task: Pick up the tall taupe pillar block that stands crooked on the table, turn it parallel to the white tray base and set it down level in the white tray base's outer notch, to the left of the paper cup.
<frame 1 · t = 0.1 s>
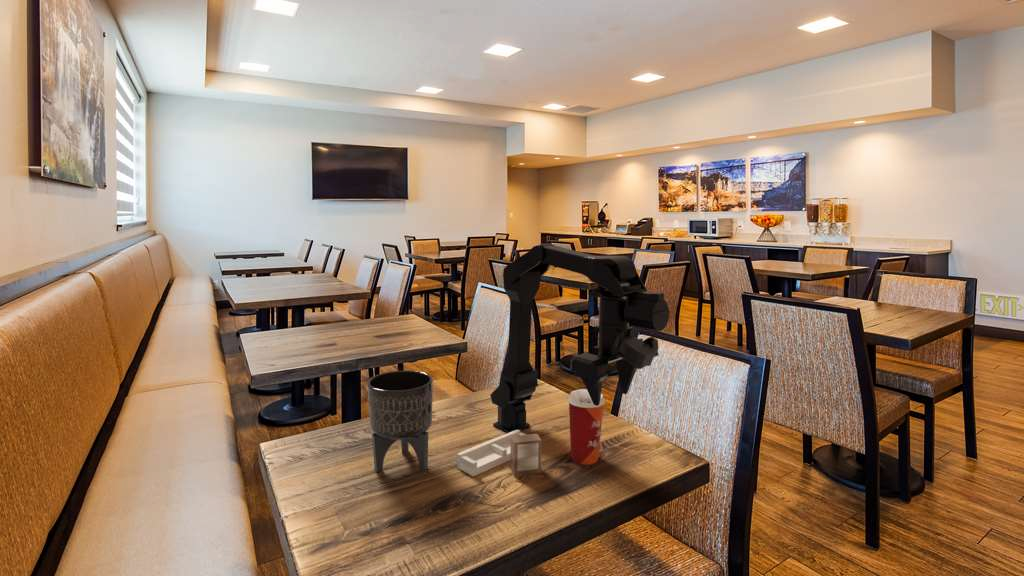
hand: (610, 399, 106), 15 cm above the table, fingers open, 9 cm apart
tall taupe pillar block: (525, 471, 107), on the table
white tray base: (496, 458, 113), on the table
paper cup: (584, 459, 113), on the table
planter: (402, 464, 110), on the table
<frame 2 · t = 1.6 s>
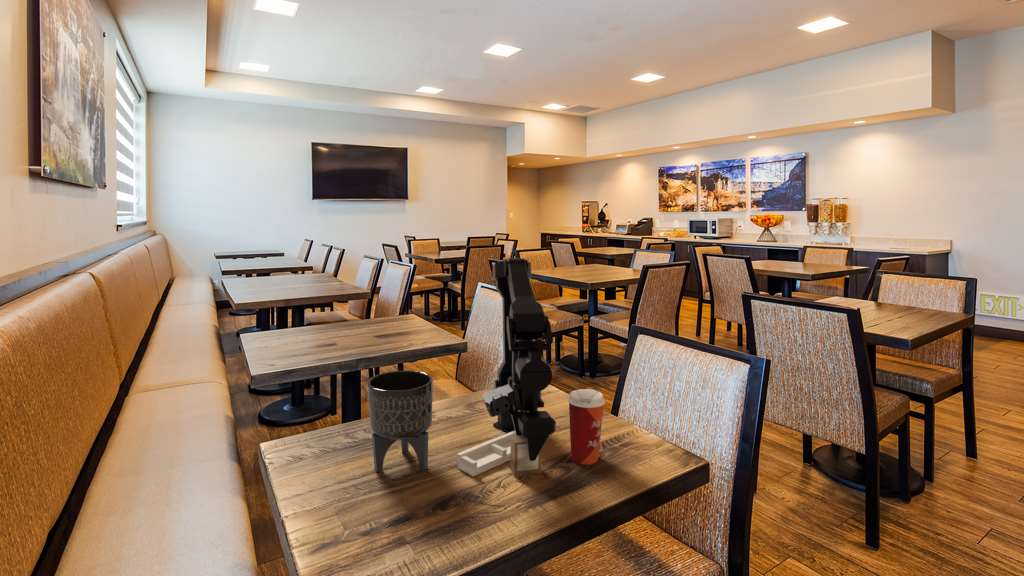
hand: (525, 449, 107), 4 cm above the table, fingers open, 9 cm apart
nothing on the table moved.
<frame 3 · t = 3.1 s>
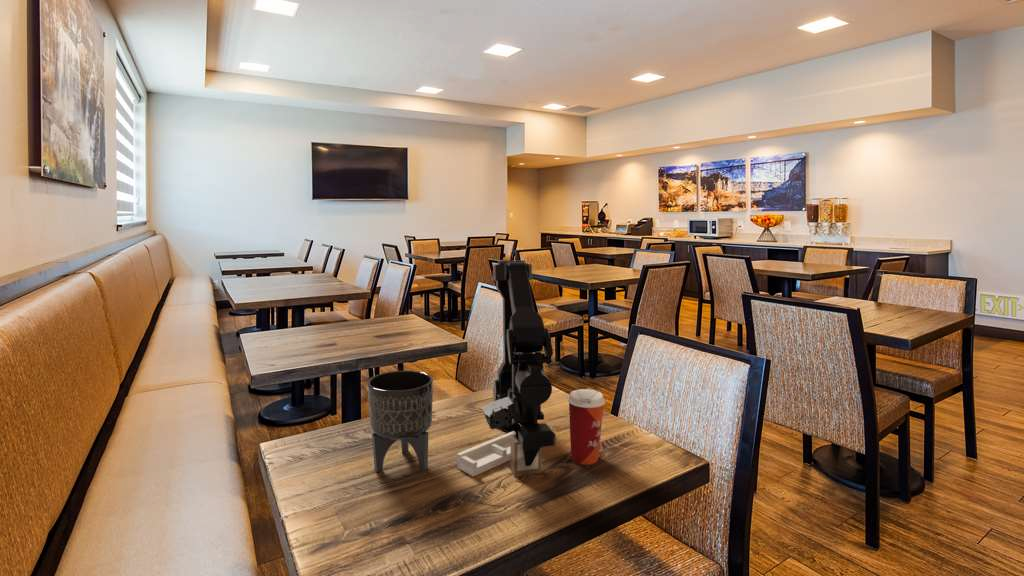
hand: (525, 461, 107), 2 cm above the table, fingers closed on tall taupe pillar block, 3 cm apart
tall taupe pillar block: (525, 471, 107), on the table, touching gripper
everything else where it was.
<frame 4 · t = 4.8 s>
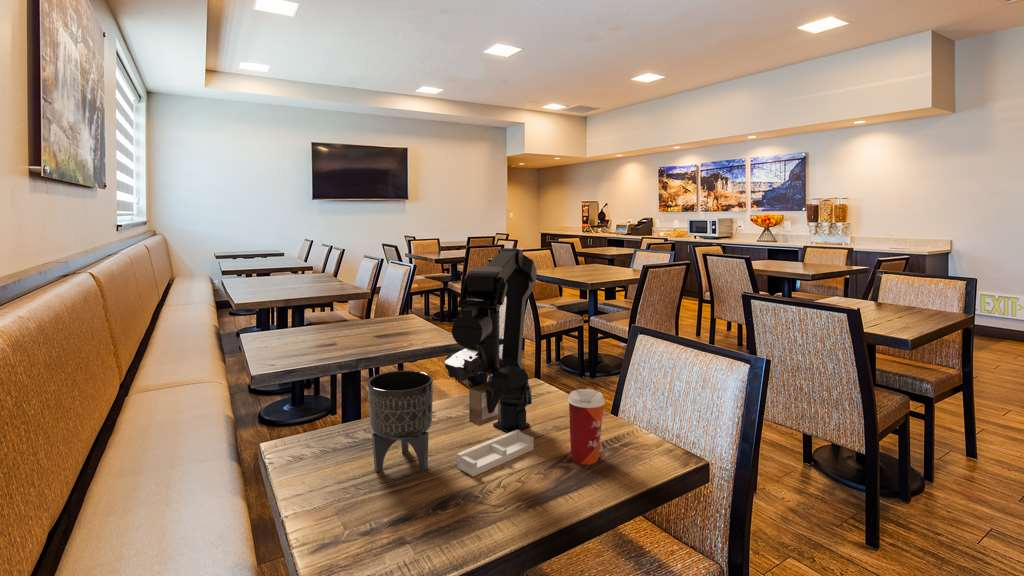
hand: (485, 410, 108), 12 cm above the table, fingers closed on tall taupe pillar block, 3 cm apart
tall taupe pillar block: (484, 420, 108), point 10 cm above the table, touching gripper
everything else where it was.
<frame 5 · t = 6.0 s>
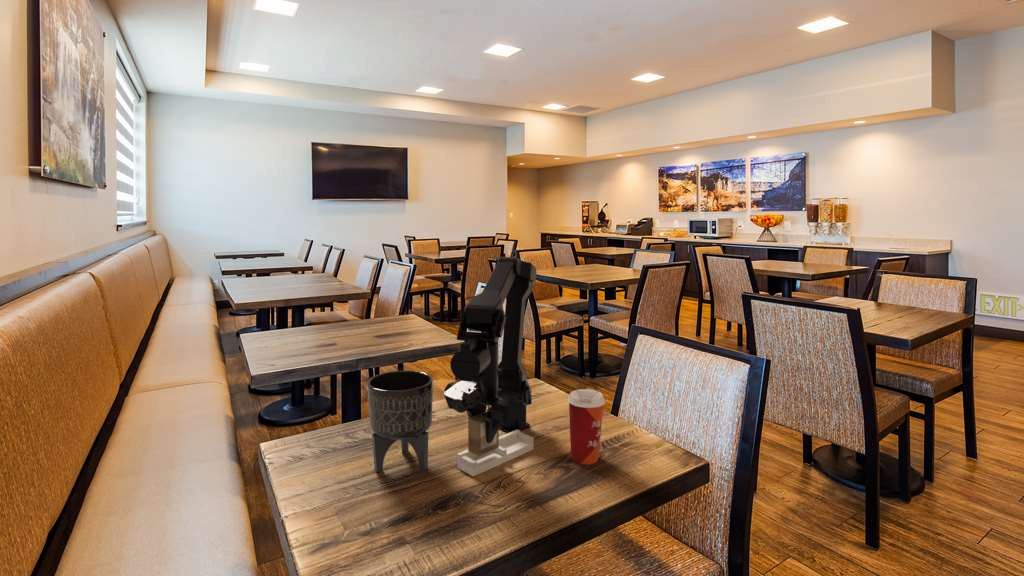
hand: (483, 439, 109), 5 cm above the table, fingers closed on tall taupe pillar block, 3 cm apart
tall taupe pillar block: (483, 449, 109), point 3 cm above the table, touching gripper
everything else where it was.
when the fingers open (5 cm above the table, at t = 6.7 s): tall taupe pillar block drops 1 cm, resting on white tray base.
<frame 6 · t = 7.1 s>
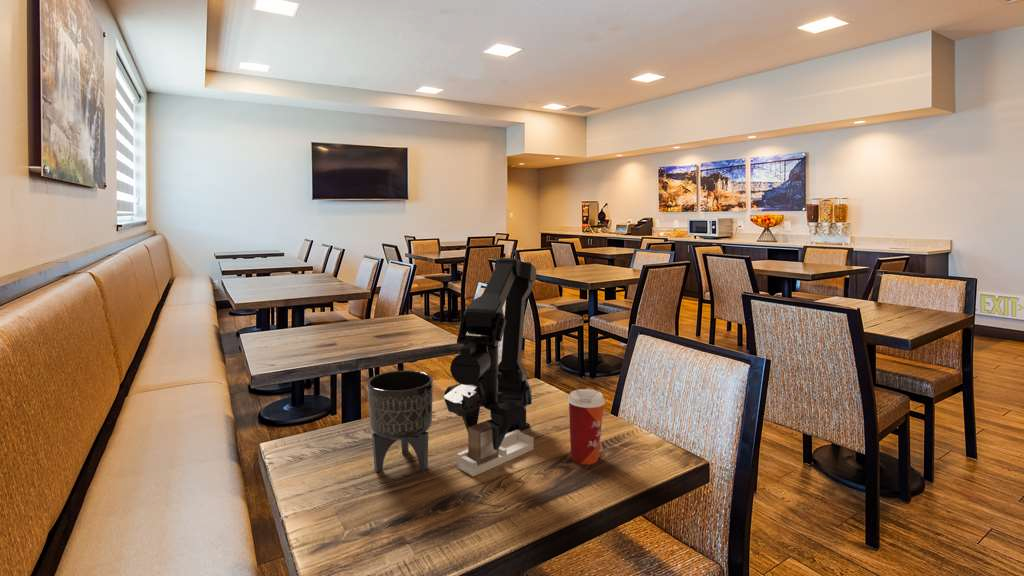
hand: (483, 443, 109), 5 cm above the table, fingers open, 7 cm apart
tall taupe pillar block: (483, 458, 109), point 1 cm above the table, touching white tray base
everything else where it was.
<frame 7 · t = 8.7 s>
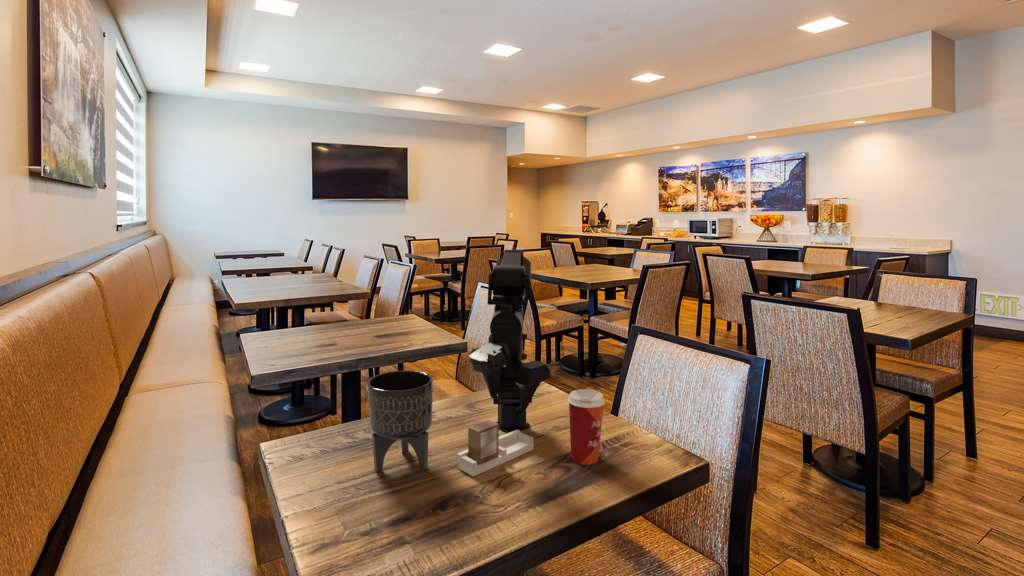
hand: (508, 403, 110), 12 cm above the table, fingers open, 9 cm apart
nothing on the table moved.
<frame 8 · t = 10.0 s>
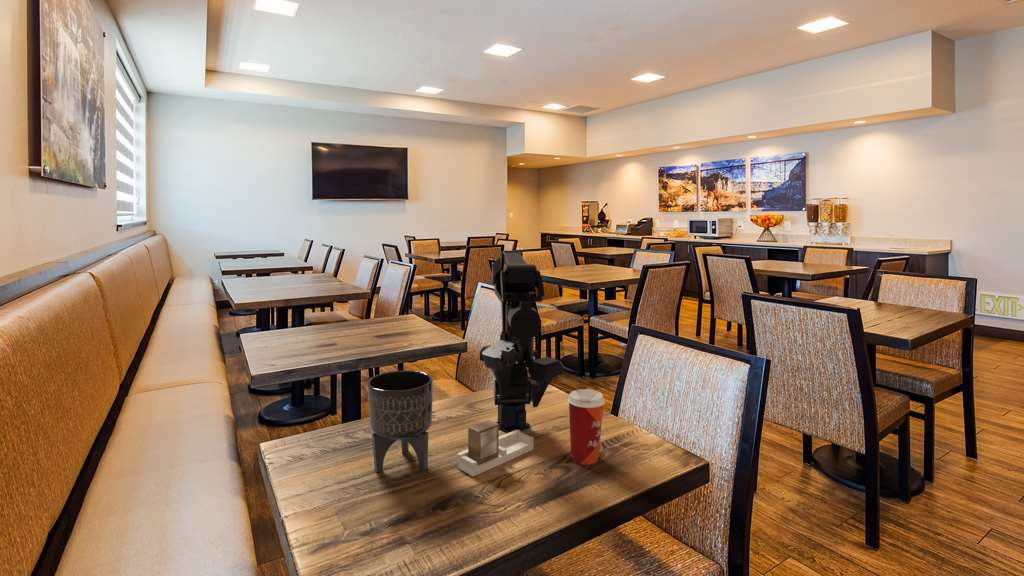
hand: (519, 400, 111), 13 cm above the table, fingers open, 9 cm apart
nothing on the table moved.
at the end: tall taupe pillar block 0.1 cm from the target spot on the white tray base, point 1.5 cm above the white tray base's base; tall taupe pillar block tilted 0°; the gripper is holding nothing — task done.
